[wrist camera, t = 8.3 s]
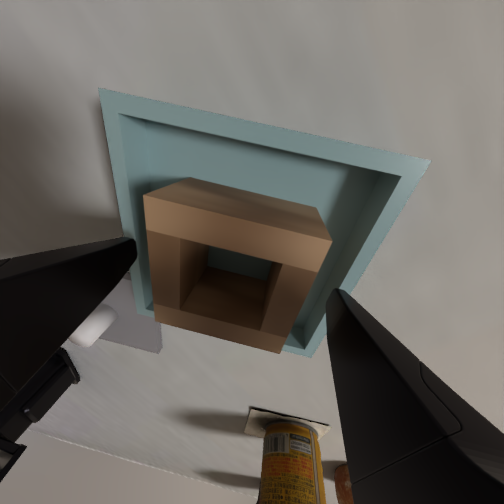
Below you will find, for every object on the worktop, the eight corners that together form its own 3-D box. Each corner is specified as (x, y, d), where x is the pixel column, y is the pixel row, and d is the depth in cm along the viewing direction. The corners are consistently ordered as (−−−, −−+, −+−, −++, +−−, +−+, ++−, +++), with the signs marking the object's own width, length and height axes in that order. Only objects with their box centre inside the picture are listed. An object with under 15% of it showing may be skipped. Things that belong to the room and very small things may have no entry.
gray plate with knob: (79, 325, 18) (44, 357, 15) (48, 253, 14) (-7, 279, 11) (162, 347, 18) (141, 383, 15) (156, 280, 13) (126, 313, 11)
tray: (156, 291, 14) (137, 313, 12) (138, 99, 8) (97, 87, 6) (307, 329, 14) (311, 358, 12) (398, 156, 8) (431, 160, 6)
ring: (187, 276, 12) (154, 321, 9) (190, 177, 9) (142, 195, 6) (280, 300, 12) (279, 353, 9) (316, 207, 9) (332, 241, 6)
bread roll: (399, 430, 26) (434, 511, 18) (426, 504, 26) (472, 617, 18) (324, 430, 29) (327, 500, 22) (347, 496, 29) (358, 590, 21)
